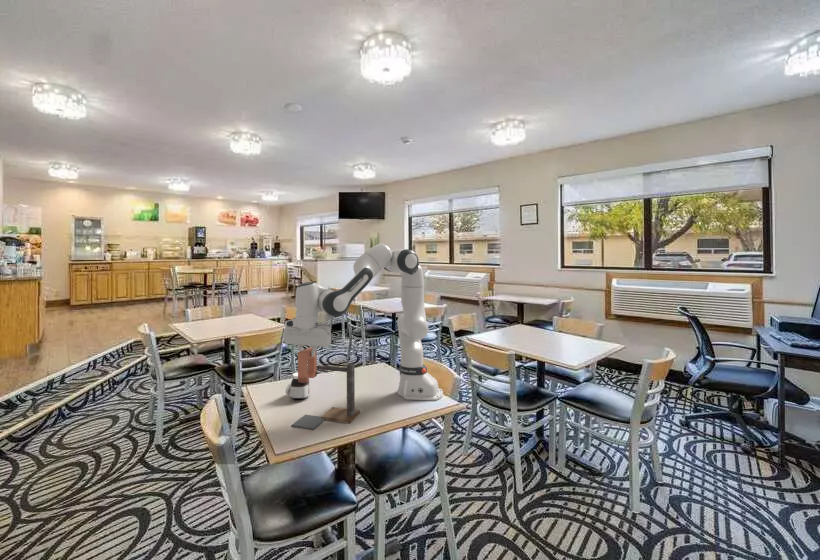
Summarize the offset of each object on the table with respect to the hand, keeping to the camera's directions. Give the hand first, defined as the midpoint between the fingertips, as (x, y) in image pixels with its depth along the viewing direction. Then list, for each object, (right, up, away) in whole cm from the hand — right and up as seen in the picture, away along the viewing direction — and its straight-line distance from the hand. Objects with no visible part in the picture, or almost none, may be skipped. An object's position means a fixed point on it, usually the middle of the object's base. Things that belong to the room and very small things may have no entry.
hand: (307, 355), depth 146 cm
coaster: (+1, -27, -1) cm, 27 cm away
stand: (+10, -26, +6) cm, 29 cm away
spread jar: (-12, -25, +25) cm, 38 cm away
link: (0, -10, +1) cm, 10 cm away
